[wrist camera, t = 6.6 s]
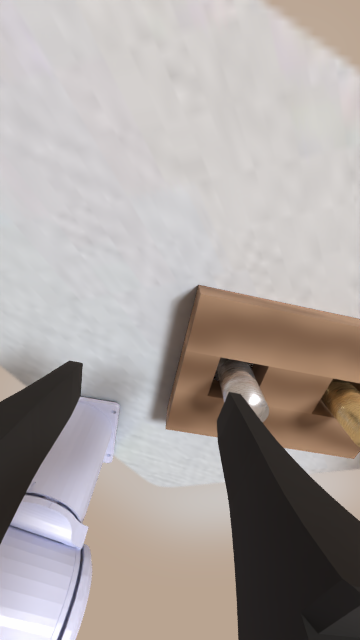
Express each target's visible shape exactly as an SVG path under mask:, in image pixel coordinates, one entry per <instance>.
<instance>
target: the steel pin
mask: <svg viewBox="0 0 360 640" xmlns="http://www.w3.org/2000/svg"><path fill="white" fill-rule="evenodd" d="M217 373H218V377H219V382H220V386H221V391H222V395H223V400H224V402H225V400H226V397H227V395H228V393H229V392H233V393H238V394H241V395H242V396H243V398H244V399H245V400H246V401H247V403H248V404H249V405H250V407H251V408H252V409H253V411H254V412H255V413H256V415H257V416H258V417H259V419H260V420H261V421H262V423H263V422H264V421H265V420H266V419H267V417H268V415H269V407H268V405H267V402H266V400H265V398H264V396H263V394H262V392H261V389H260V387H259V385H258V383H257V381H256V378H255V376H254V374H253V372H252V370H251V368H250V365H249V363H248V362H243V361H238V360H232V359H227V358H222V357H221V358H220V360H219V363H218V366H217Z"/></svg>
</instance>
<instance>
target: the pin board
mask: <svg viewBox="0 0 360 640" xmlns="http://www.w3.org/2000/svg"><path fill="white" fill-rule="evenodd" d="M221 357H222V358H227V359H232V360H238V361H243V362H249V363H254V365H253V367H252V369H251V370H252V372H253V374H254V376H255V378H256V381H257V383H258V385H259V387H260V389H261V392H262V394H263V396H264V398H265V400H266V402H267V405H268V407H269V415H268V417H267V419H266V420H265V421H264V422H263V424H264V425H265V426H266V428H267V429H268V430H269V431H270V433H271V434H272V435H273V436H274V437H275V439H276V440H277V441H278V442H279V443H280V445H281V446H282V447H283V448H289V449H295V450H302V451H308V452H314V453H321V454H327V455H333V456H340V457H346V458H352V459H354V458H355V457H356V455H357V454H358V453H359V452H360V447H359V446H357V445H356V444H355V443H354V442H353V440H352V439H351V438H350V436H349V435H348V434H347V433H346V431H345V430H344V429H343V428H342V426H341V425H340V424H339V422H338V421H337V420H336V419H335V417H334V416H333V415H332V414H331V412H330V411H329V410H328V408H327V407H326V406H325V405H324V403H323V402H322V401H321V397H322V396H323V394H324V393H325V391H326V389H327V388H328V386H329V385H330V383H331V381H332V380H333V378H334V379H339V380H345V381H349V382H350V383H351V384H352V385H353V386H354V387H355V388H356V389H357V390H358V391H359V392H360V319H357V318H352V317H348V316H343V315H338V314H334V313H329V312H324V311H319V310H315V309H310V308H305V307H301V306H296V305H291V304H286V303H282V302H277V301H272V300H268V299H263V298H258V297H253V296H249V295H244V294H239V293H235V292H230V291H225V290H220V289H216V288H211V287H206V286H202V285H198V289H197V293H196V297H195V301H194V305H193V309H192V313H191V317H190V321H189V325H188V329H187V333H186V337H185V341H184V344H183V348H182V352H181V356H180V360H179V364H178V368H177V372H176V376H175V380H174V384H173V388H172V392H171V396H170V400H169V404H168V408H167V417H166V429H168V430H175V431H181V432H187V433H194V434H200V435H206V436H213V437H218V436H217V419H218V416H219V414H220V412H221V409H222V407H223V404H224V400H223V395H222V391H221V386H220V382H219V380H213V378H214V375H215V372H216V369H217V366H218V363H219V360H220V358H221Z"/></svg>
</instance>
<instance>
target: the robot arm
mask: <svg viewBox="0 0 360 640" xmlns="http://www.w3.org/2000/svg"><path fill="white" fill-rule="evenodd" d="M82 366H83V363H79V362H74V361H68V362H67V363H65V364H63V365H62V366H60V367H59V368H57V369H55V370H54V371H52V372H51V373H49V374H47V375H46V376H44V377H43V378H41V379H39V380H38V381H36V382H34V383H33V384H31V385H29V386H28V387H26V388H24V389H23V390H21V391H19V392H17V393H16V394H14V395H12V396H10V397H8V398H6V399H5V400H3V401H1V402H0V640H75V639H76V636H77V634H78V631H79V628H80V625H81V622H82V619H83V615H84V611H85V608H86V604H87V600H88V596H89V591H90V586H91V579H92V562H91V552H90V549H89V547H88V546H87V545H85V544H84V540H85V537H86V534H87V530H88V526H85V525H83V524H82V522H83V520H84V517H85V515H86V512H87V508H88V506H89V502H90V499H91V497H92V494H93V490H94V488H95V484H96V481H97V478H98V475H99V472H100V469H101V466H102V463H103V462H104V463H111V462H112V459H113V453H114V446H115V438H116V431H117V423H118V416H119V409H120V405H119V404H118V403H116V402H110V401H104V400H97V399H91V398H85V397H80V396H81V381H82ZM113 410H115V411H113ZM217 436H218V445H219V451H220V456H221V462H222V467H223V472H224V478H225V483H226V488H227V493H228V500H229V508H230V518H231V528H232V538H233V550H234V563H235V577H236V578H235V579H236V595H237V615H238V639H239V640H360V521H359V520H358V519H356V518H355V517H354V516H353V515H352V514H350V513H349V512H348V511H347V510H346V509H345V508H344V507H343V506H341V505H340V504H339V503H338V502H337V501H336V500H335V499H334V498H332V497H331V496H330V495H329V494H328V493H327V492H326V491H325V490H324V489H322V487H321V486H319V485H318V484H317V483H316V482H315V481H314V480H313V479H312V478H311V477H310V476H309V475H308V474H307V473H306V472H305V471H304V470H303V469H302V468H301V467H300V466H299V464H298V463H297V462H296V461H295V460H294V459H293V458H292V457H291V456H290V455H289V454H288V453H287V451H286V450H285V449H284V448H283V447H282V446H281V445H280V443H279V442H278V441H277V440H276V439H275V437H274V436H273V435H272V434H271V433H270V431H269V430H268V429H267V428H266V426H265V425H264V424H263V423H262V421H261V420H260V419H259V417H258V416H257V415H256V413H255V412H254V411H253V409H252V408H251V407H250V405H249V404H248V403H247V401H246V400H245V399H244V398H243V396H242V395H241V394H238V393H233V392H229V393H228V395H227V397H226V400H225V402H224V404H223V407H222V409H221V412H220V414H219V416H218V419H217Z"/></svg>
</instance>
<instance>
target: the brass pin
mask: <svg viewBox="0 0 360 640" xmlns="http://www.w3.org/2000/svg"><path fill="white" fill-rule="evenodd" d="M321 401H322V402H323V403H324V405H325V406H326V407H327V408H328V410H329V411H330V412H331V414H332V415H333V416H334V417H335V419H336V420H337V421H338V422H339V424H340V425H341V426H342V428H343V429H344V430H345V431H346V433H347V434H348V435H349V436H350V438H351V439H352V440H353V442H354V443H355V444H356V445H357V446H359V447H360V392H359V391H358V390H357V389H356V388H355V387H354V386H353V385H352V384H351V383H350V382H349V381H345V380H339V379H334V378H333V380H332V381H331V383H330V385H329V386H328V388H327V389H326V391H325V393H324V394H323V396H322V397H321Z"/></svg>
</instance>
